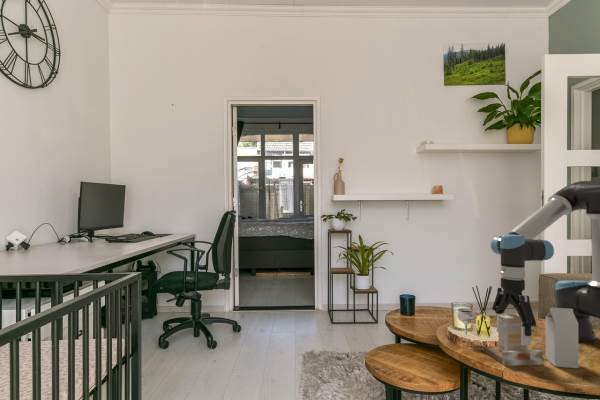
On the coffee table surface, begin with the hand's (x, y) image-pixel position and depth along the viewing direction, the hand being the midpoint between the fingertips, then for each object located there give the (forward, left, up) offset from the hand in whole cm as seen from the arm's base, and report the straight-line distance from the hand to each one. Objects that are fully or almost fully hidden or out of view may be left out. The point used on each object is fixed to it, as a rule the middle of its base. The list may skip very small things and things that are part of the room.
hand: (512, 337), depth 133 cm
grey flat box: (0, -1, -7) cm, 7 cm away
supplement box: (0, 0, -5) cm, 5 cm away
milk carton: (-14, +6, -7) cm, 17 cm away
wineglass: (+7, -18, -7) cm, 21 cm away
